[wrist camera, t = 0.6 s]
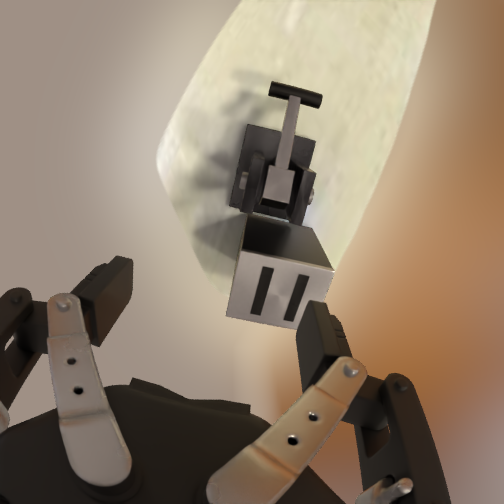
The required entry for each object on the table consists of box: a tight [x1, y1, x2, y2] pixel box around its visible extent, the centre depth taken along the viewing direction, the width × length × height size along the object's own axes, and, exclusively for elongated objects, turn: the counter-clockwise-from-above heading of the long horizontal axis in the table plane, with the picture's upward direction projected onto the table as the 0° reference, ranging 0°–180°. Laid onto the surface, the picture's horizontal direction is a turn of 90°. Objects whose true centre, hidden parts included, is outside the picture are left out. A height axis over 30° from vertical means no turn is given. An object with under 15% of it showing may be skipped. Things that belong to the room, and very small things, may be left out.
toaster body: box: [226, 213, 335, 330], centre depth 32 cm, size 7×8×12 cm
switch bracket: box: [229, 124, 316, 226], centre depth 28 cm, size 10×8×13 cm
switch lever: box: [259, 81, 323, 210], centre depth 24 cm, size 12×5×2 cm, turn 169°
